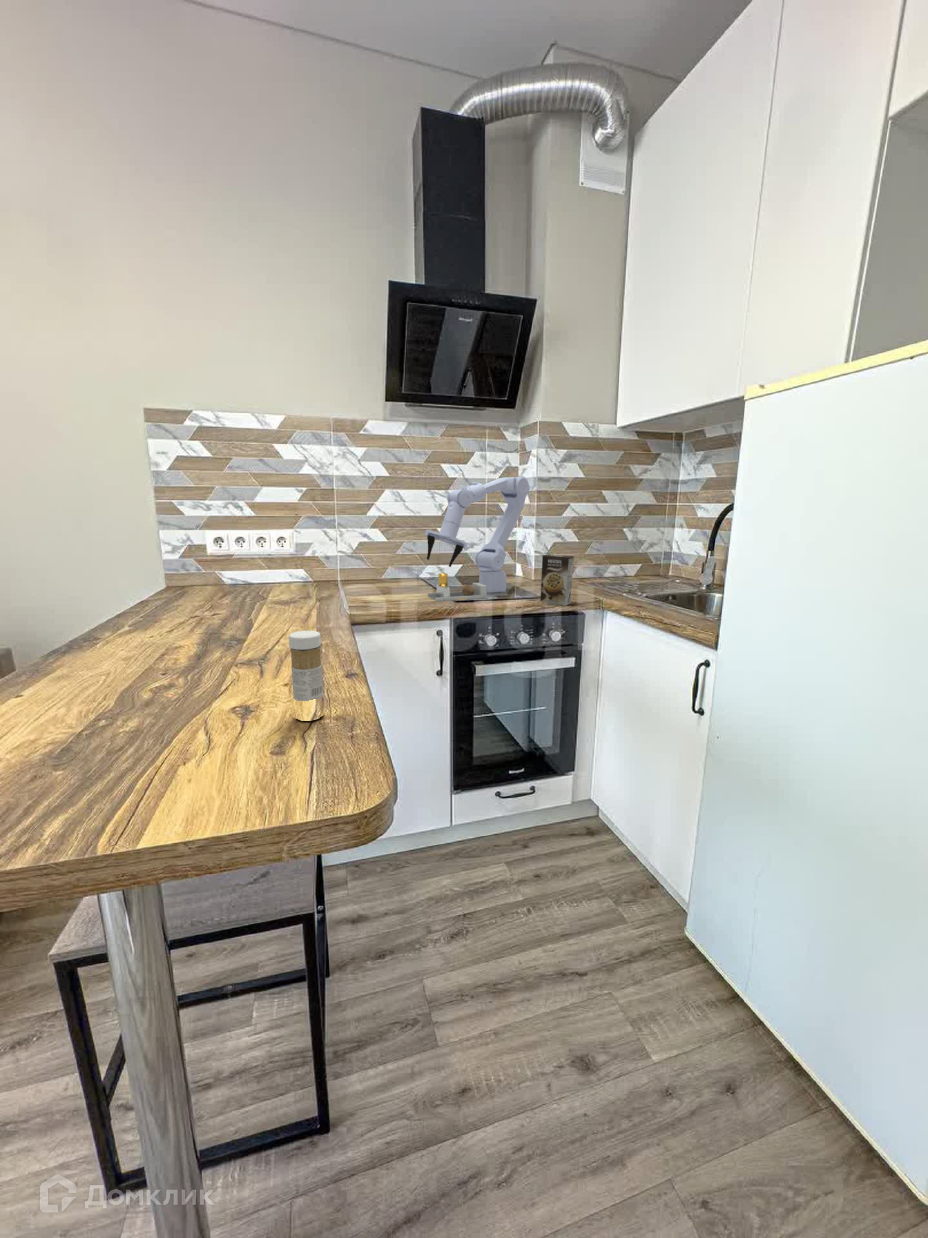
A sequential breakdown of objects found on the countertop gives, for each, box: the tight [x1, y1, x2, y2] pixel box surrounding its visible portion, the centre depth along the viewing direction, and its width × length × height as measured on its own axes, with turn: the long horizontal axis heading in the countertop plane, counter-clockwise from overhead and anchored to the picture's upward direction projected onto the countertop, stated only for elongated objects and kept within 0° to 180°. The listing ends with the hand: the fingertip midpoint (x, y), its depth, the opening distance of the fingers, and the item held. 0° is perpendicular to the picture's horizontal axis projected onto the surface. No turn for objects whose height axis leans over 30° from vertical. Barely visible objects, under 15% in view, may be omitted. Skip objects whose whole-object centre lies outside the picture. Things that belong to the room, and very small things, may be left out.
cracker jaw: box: [436, 572, 451, 597], centre depth 175 cm, size 3×8×8 cm, turn 20°
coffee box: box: [539, 554, 575, 607], centre depth 174 cm, size 9×6×16 cm
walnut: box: [461, 584, 474, 596], centre depth 178 cm, size 4×4×4 cm
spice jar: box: [288, 630, 324, 701], centre depth 80 cm, size 5×5×13 cm
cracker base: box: [426, 582, 488, 602], centre depth 177 cm, size 18×11×6 cm, turn 110°
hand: (438, 562), depth 175 cm, fingers open, 7 cm apart
